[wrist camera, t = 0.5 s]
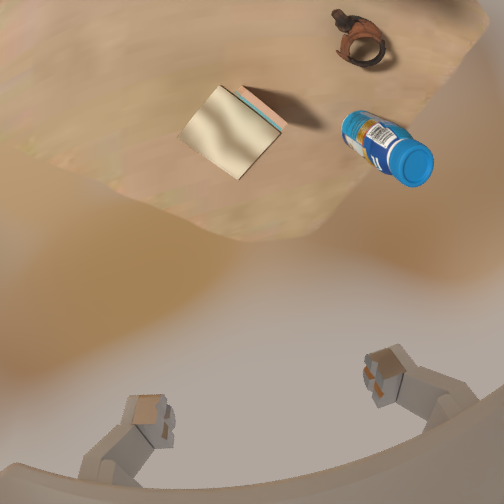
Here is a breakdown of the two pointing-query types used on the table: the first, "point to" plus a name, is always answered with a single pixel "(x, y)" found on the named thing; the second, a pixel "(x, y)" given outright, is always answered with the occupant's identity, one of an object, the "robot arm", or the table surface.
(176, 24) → the table surface
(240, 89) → the glazed tile
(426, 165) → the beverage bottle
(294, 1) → the table surface
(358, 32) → the brown ring-shaped piece
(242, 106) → the cream cloth
